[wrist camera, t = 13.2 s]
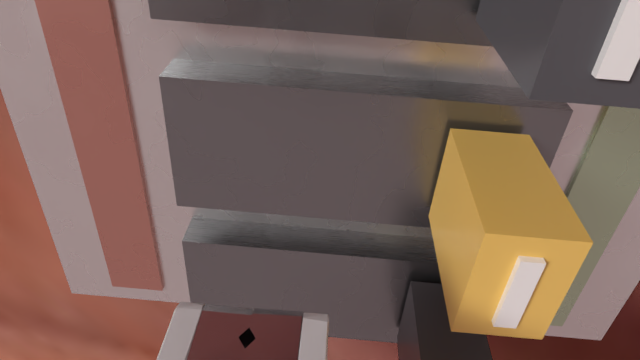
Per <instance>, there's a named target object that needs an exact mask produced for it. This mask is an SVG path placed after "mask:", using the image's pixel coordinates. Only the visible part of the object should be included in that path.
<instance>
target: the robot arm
mask: <svg viewBox="0 0 640 360" xmlns="http://www.w3.org/2000/svg"><path fill="white" fill-rule="evenodd" d="M328 331H329V315H328V314H319V313H303V312H302V311H288V310H273V309H259V308H254V309H249V308H240V307H230V306H220V305H211V304H203V303H191V302H180V303H179V304H178V306H177V307H176V309H175V311H174V313H173V316H172V319H171V322H170V324H169V327H168V330H167V332H166V335H165V338H164V341H163V343H162V346H161V349H160V352H159V354H158V357H157V360H327V350H328Z"/></svg>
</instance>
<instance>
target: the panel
mask: <svg viewBox="0 0 640 360" xmlns="http://www.w3.org/2000/svg"><path fill="white" fill-rule="evenodd" d="M479 4H480V0H0V88H1V91H2V94H3V97H4V100H5V103H6V106H7V108H8V111H9V114H10V117H11V120H12V123H13V126H14V129H15V131H16V134H17V137H18V140H19V143H20V146H21V149H22V152H23V154H24V157H25V160H26V163H27V166H28V169H29V172H30V174H31V177H32V180H33V183H34V186H35V189H36V192H37V195H38V197H39V200H40V203H41V206H42V209H43V212H44V215H45V218H46V220H47V223H48V226H49V229H50V232H51V235H52V238H53V240H54V243H55V246H56V249H57V252H58V255H59V258H60V261H61V263H62V266H63V269H64V272H65V275H66V278H67V281H68V284H69V286H70V289H71V292H72V293H77V294H88V295H99V296H110V297H121V298H133V299H144V300H155V301H166V302H177V303H180V302H191V303H203V304H211V305H220V306H230V307H240V308H249V309H254V308H259V309H273V310H288V311H302V312H303V313H319V314H328V315H329V331H328V337H337V338H348V339H359V340H370V341H381V342H392V343H397V335H398V331H399V327H400V323H401V319H402V315H403V311H404V307H405V303H406V299H407V294H408V290H409V286H410V282H411V281H415V282H426V283H438V284H442V283H441V278H440V272H439V267H438V262H437V257H436V252H435V247H434V242H433V237H432V231H431V226H430V221H429V212H430V208H431V204H432V200H433V196H434V192H435V188H436V184H437V180H438V176H439V172H440V168H441V164H442V160H443V156H444V152H445V148H446V144H447V140H448V136H449V132H450V128H454V129H466V130H478V131H490V132H501V133H513V134H525V135H530V137H531V138H532V140H533V142H534V143H535V145H536V147H537V148H538V150H539V152H540V153H541V155H542V157H543V158H544V160H545V162H546V164H547V165H548V167H549V169H550V170H551V172H552V174H553V175H554V177H555V179H556V180H557V182H558V184H559V185H560V187H561V189H562V190H563V192H564V194H565V196H566V197H567V199H568V201H569V202H570V204H571V206H572V207H573V209H574V211H575V212H576V214H577V216H578V217H579V219H580V221H581V223H582V224H583V226H584V228H585V229H586V231H587V233H588V234H589V236H590V238H591V239H592V241H593V245H592V246H591V248H590V250H589V252H588V254H587V256H586V258H585V260H584V262H583V263H582V265H581V267H580V269H579V271H578V273H577V275H576V277H575V279H574V280H573V282H572V284H571V286H570V288H569V290H568V292H567V294H566V296H565V297H564V299H563V301H562V303H561V305H560V307H559V309H558V311H557V313H556V314H555V316H554V318H553V320H552V322H551V324H550V326H549V328H548V330H547V331H546V333H545V335H546V336H557V337H568V338H579V339H591V340H602V338H603V337H604V335H605V333H606V332H607V330H608V329H609V327H610V326H611V324H612V323H613V321H614V319H615V318H616V316H617V315H618V313H619V312H620V310H621V309H622V307H623V305H624V304H625V302H626V301H627V299H628V298H629V296H630V295H631V293H632V291H633V290H634V288H635V287H636V285H637V284H638V282H639V281H640V109H637V108H625V107H613V106H601V105H589V104H577V103H565V102H553V101H541V100H529V99H528V97H527V96H526V95H525V93H524V92H523V90H522V89H521V87H520V86H519V84H518V83H517V81H516V80H515V78H514V77H513V75H512V74H511V72H510V71H509V69H508V68H507V66H506V65H505V63H504V62H503V60H502V59H501V57H500V56H499V54H498V53H497V51H496V50H495V48H494V47H493V45H492V44H491V42H490V41H489V39H488V38H487V36H486V35H485V33H484V32H483V31H482V29H481V28H480V26H479V25H478V23H477V22H476V16H477V12H478V8H479Z"/></svg>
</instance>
